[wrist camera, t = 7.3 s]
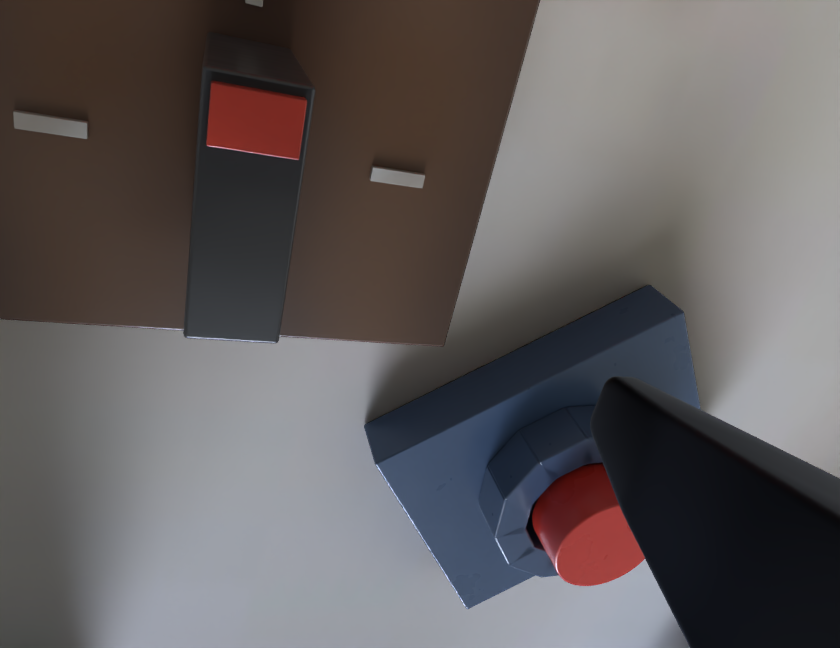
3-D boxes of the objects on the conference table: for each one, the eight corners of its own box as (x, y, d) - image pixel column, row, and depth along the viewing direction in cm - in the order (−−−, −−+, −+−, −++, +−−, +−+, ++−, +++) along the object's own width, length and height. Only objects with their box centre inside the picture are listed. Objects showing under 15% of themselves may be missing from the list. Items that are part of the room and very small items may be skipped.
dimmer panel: (-25, 264, 18) (-67, 320, 15) (-66, -176, 13) (-137, -204, 11) (419, 302, 22) (446, 350, 20) (499, -21, 18) (549, -15, 15)
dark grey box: (266, 254, 17) (279, 351, 13) (191, 246, 16) (182, 345, 12) (292, 48, 14) (319, 89, 10) (207, 30, 14) (201, 67, 10)
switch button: (546, 557, 25) (570, 602, 23) (518, 495, 23) (542, 540, 21) (639, 511, 25) (669, 553, 23) (619, 445, 23) (651, 485, 21)
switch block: (451, 569, 30) (481, 648, 26) (363, 424, 24) (385, 502, 21) (684, 453, 30) (742, 517, 27) (649, 283, 24) (717, 337, 21)
